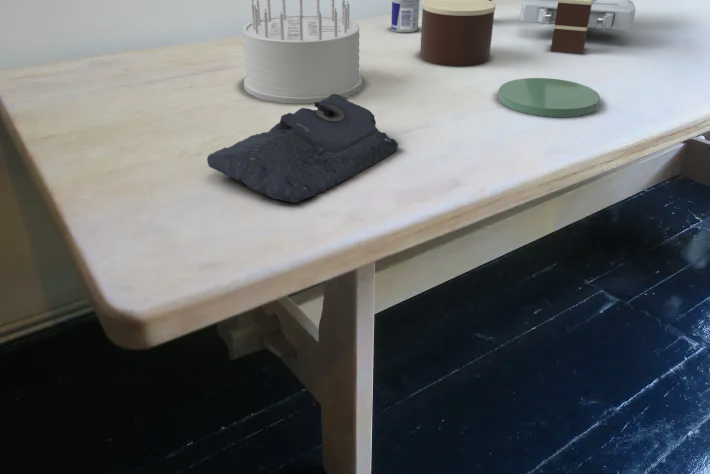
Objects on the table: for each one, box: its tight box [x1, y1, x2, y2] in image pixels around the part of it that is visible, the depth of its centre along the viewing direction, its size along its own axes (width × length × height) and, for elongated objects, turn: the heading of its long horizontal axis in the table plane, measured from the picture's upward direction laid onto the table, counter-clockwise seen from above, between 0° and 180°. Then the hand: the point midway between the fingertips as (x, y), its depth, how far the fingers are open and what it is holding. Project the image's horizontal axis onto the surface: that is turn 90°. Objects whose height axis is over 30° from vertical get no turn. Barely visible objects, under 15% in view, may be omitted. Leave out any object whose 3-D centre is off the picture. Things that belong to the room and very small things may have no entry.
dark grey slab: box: [206, 94, 399, 203], centre depth 76 cm, size 15×22×5 cm
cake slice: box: [550, 0, 593, 55], centre depth 118 cm, size 6×4×9 cm
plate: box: [498, 77, 601, 118], centre depth 95 cm, size 14×14×1 cm
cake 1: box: [242, 0, 363, 105], centre depth 99 cm, size 18×18×13 cm
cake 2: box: [419, 0, 496, 67], centre depth 114 cm, size 12×12×9 cm
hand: (573, 21), depth 118 cm, fingers open, 8 cm apart
